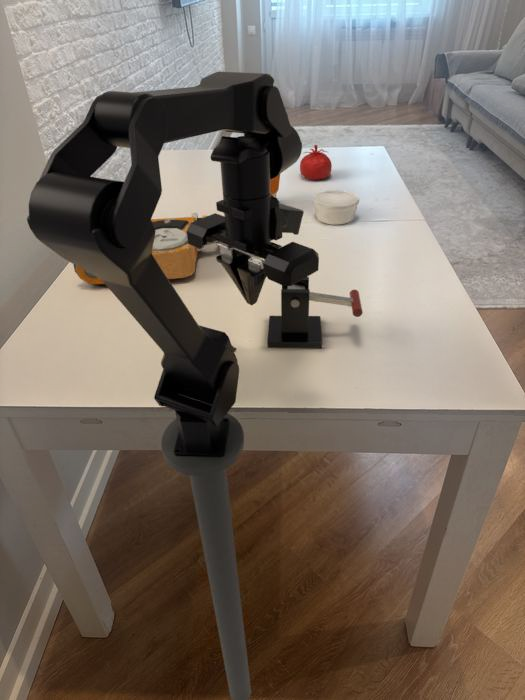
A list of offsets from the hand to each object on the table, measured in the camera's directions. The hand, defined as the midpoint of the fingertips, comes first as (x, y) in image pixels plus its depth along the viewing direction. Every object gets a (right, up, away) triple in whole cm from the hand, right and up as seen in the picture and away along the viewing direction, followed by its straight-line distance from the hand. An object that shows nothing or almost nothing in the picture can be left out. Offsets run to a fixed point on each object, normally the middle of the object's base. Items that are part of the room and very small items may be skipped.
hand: (252, 303), depth 68 cm
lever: (+11, +1, +12) cm, 17 cm away
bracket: (+7, -4, +16) cm, 18 cm away
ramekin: (+20, +27, +56) cm, 65 cm away
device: (-21, +13, +40) cm, 47 cm away
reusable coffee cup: (0, +31, +63) cm, 70 cm away
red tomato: (+18, +46, +82) cm, 96 cm away
